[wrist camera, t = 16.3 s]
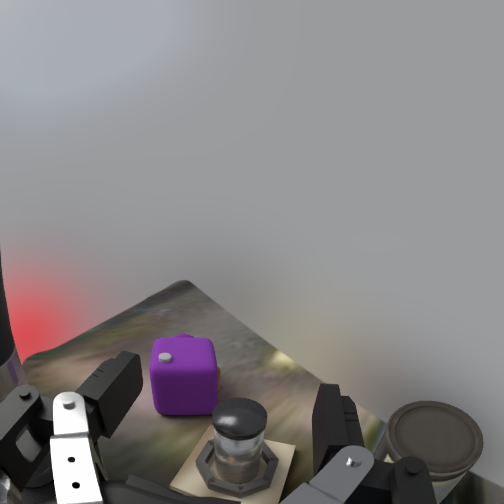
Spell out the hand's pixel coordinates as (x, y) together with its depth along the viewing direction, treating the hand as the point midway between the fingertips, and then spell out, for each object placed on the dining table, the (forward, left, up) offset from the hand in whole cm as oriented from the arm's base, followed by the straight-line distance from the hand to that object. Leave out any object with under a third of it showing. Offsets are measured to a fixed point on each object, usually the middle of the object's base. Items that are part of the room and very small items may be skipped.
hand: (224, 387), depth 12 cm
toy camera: (-16, +24, -25) cm, 38 cm away
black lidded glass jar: (-3, +12, -23) cm, 26 cm away
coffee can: (+16, +10, -25) cm, 31 cm away
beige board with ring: (-3, +12, -24) cm, 27 cm away
